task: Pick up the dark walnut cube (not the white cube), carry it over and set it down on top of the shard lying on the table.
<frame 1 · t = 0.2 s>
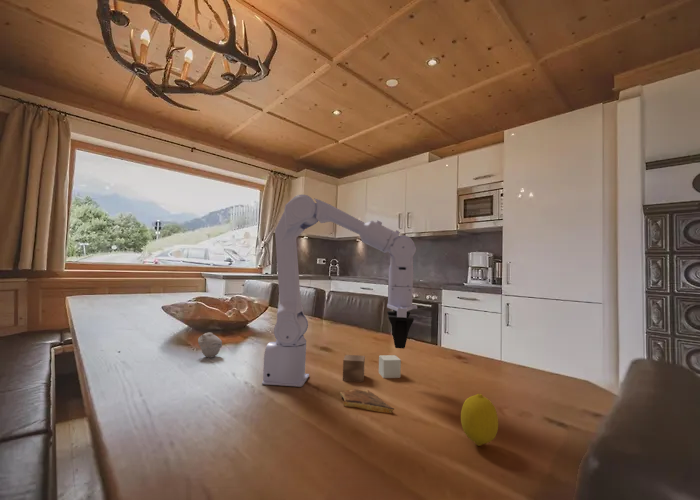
hand: (398, 344, 77), 10 cm above the table, tool pointing down, fingers open, 7 cm apart
frog figurine: (209, 357, 95), on the table
walnut block: (353, 378, 81), on the table
lemon: (478, 446, 51), on the table
shard: (367, 405, 67), on the table
white cube: (389, 375, 84), on the table
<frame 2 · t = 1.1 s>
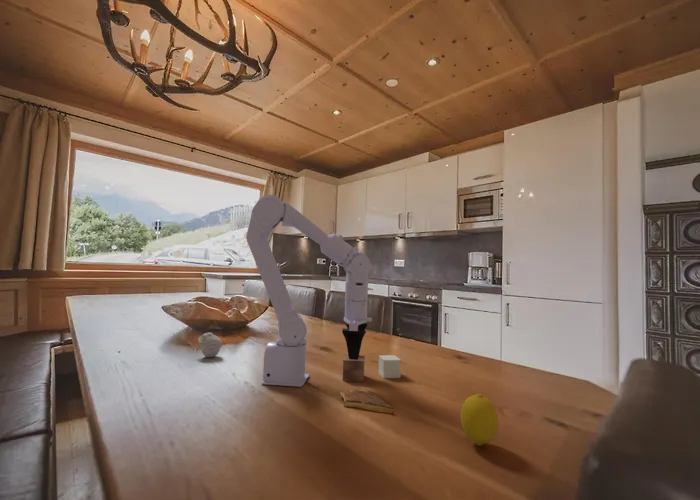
hand: (354, 354, 82), 6 cm above the table, tool pointing down, fingers open, 7 cm apart
nothing on the table moved.
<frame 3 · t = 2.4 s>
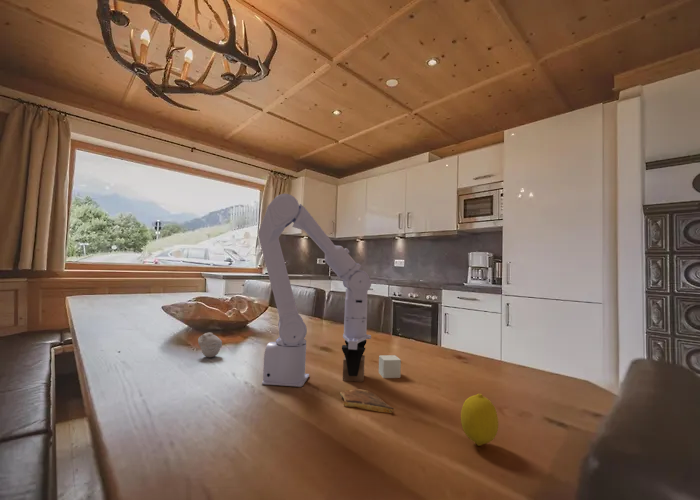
hand: (353, 371, 81), 1 cm above the table, tool pointing down, fingers closed on walnut block, 5 cm apart
walnut block: (353, 377, 81), on the table, touching gripper
everything else where it was.
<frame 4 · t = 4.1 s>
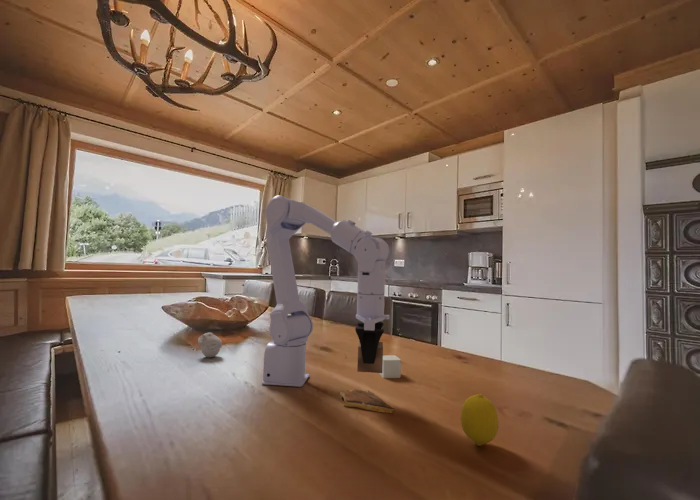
hand: (369, 359, 68), 8 cm above the table, tool pointing down, fingers closed on walnut block, 5 cm apart
walnut block: (369, 368, 68), point 7 cm above the table, touching gripper
everything else where it was.
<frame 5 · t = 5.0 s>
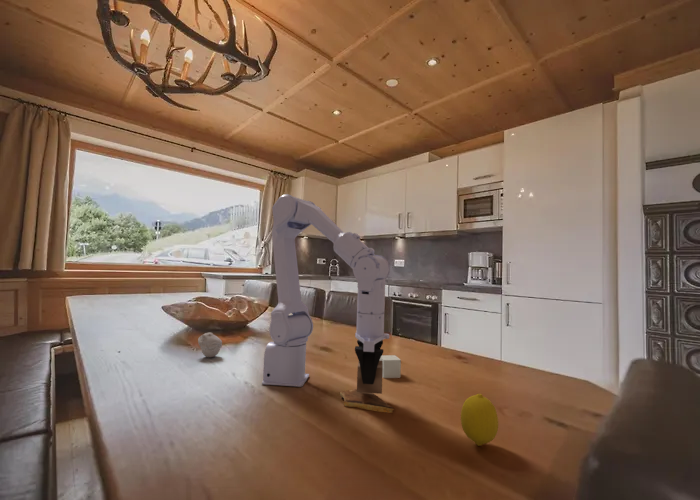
hand: (368, 378, 67), 5 cm above the table, tool pointing down, fingers closed on walnut block, 5 cm apart
walnut block: (369, 388, 67), point 3 cm above the table, touching gripper
everything else where it was.
when the fingers open (5 cm above the table, at t = 5.8 s): walnut block drops 2 cm, resting on shard.
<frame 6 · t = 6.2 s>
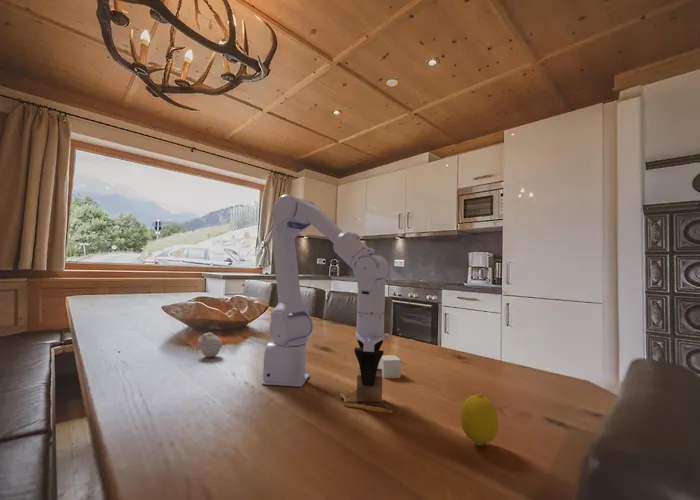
hand: (368, 378, 67), 5 cm above the table, tool pointing down, fingers open, 7 cm apart
walnut block: (369, 396, 67), point 1 cm above the table, touching shard
shard: (367, 406, 67), on the table, touching walnut block
everything else where it was.
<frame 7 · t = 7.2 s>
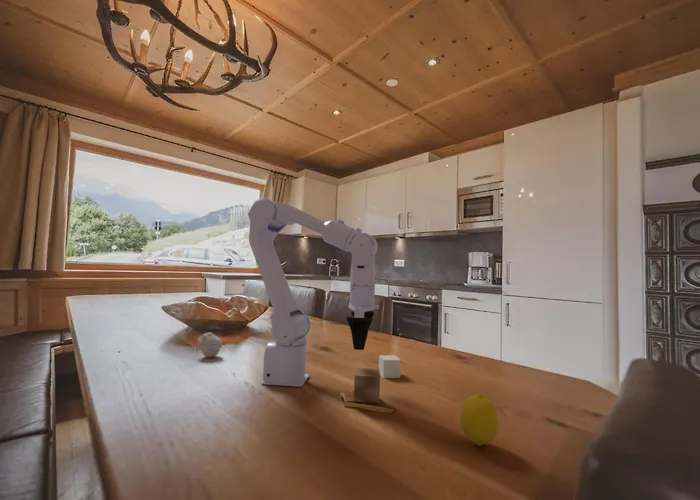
hand: (360, 345, 74), 10 cm above the table, tool pointing down, fingers open, 7 cm apart
nothing on the table moved.
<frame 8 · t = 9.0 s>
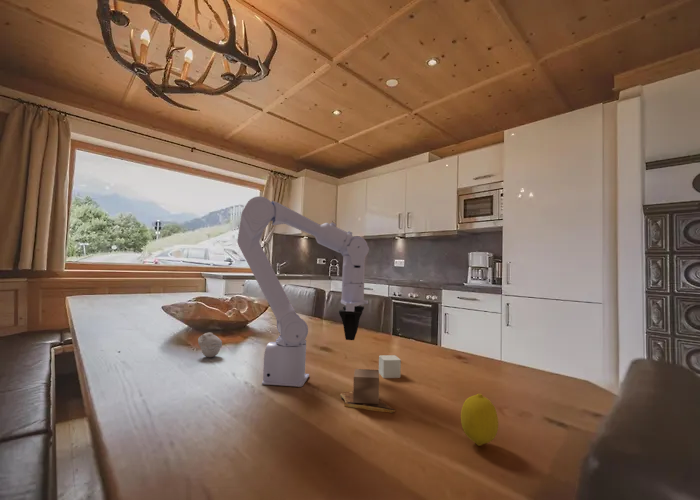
hand: (351, 336, 83), 10 cm above the table, tool pointing down, fingers open, 7 cm apart
nothing on the table moved.
at the end: walnut block inside the target area on the shard (1.0 cm from its centre), point 2.0 cm above the shard's base; walnut block tilted 0°; the gripper is holding nothing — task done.
